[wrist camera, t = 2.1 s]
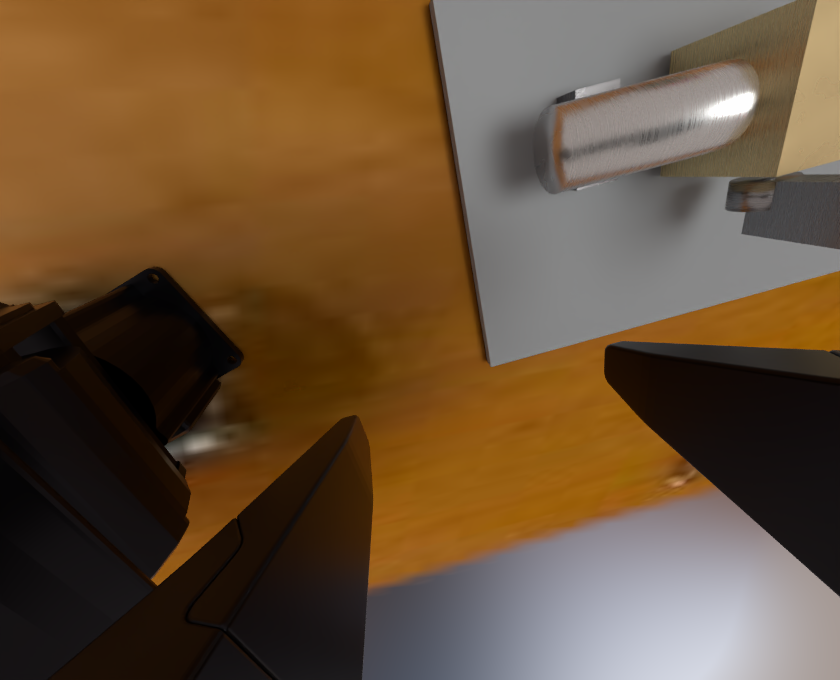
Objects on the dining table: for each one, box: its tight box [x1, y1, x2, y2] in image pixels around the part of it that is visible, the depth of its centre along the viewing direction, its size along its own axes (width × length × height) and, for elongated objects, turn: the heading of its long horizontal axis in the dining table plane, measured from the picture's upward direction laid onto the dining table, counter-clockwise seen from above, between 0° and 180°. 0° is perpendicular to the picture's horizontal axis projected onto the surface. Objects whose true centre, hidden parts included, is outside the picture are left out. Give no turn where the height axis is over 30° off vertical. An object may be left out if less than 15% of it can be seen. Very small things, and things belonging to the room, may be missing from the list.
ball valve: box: [533, 0, 840, 194], centre depth 14 cm, size 20×6×6 cm, turn 103°
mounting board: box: [429, 0, 840, 367], centre depth 18 cm, size 26×18×1 cm
